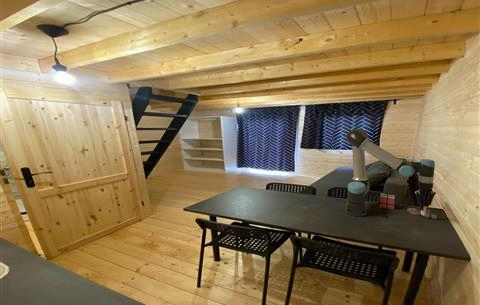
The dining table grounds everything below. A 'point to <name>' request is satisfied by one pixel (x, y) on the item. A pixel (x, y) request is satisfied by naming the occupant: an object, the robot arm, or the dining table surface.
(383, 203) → the puzzle cube
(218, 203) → the dining table surface
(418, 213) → the dial
